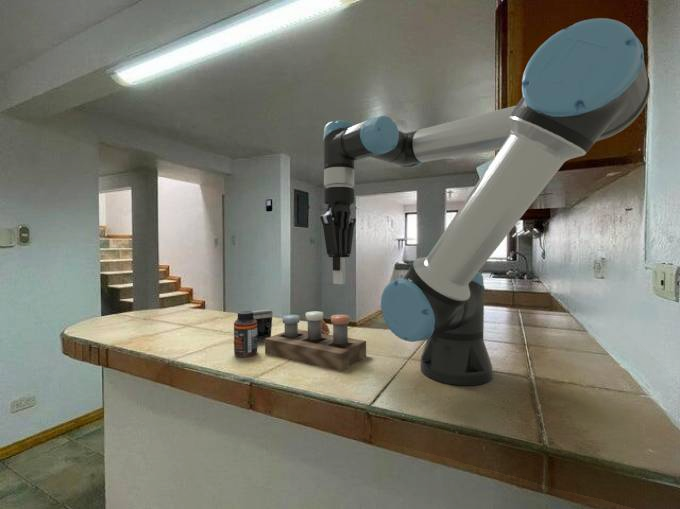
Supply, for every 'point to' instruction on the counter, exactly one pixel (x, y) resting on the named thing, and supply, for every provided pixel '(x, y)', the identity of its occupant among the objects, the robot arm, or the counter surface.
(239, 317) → the supplement bottle
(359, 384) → the counter surface
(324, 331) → the fruit slice
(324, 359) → the wooden peg holder
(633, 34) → the robot arm
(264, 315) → the electrical switch
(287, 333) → the grey cylindrical piece
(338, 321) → the key red
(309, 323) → the key white
